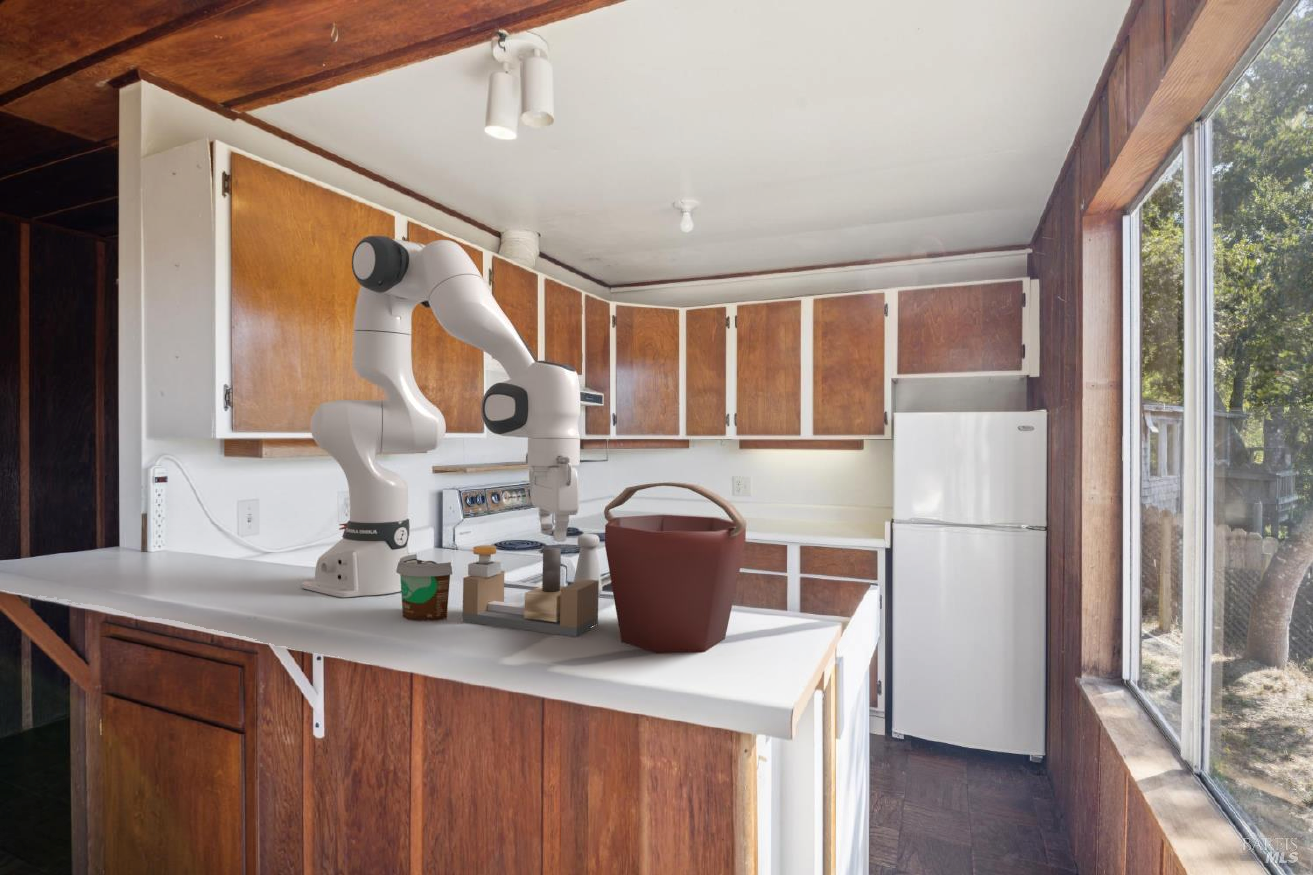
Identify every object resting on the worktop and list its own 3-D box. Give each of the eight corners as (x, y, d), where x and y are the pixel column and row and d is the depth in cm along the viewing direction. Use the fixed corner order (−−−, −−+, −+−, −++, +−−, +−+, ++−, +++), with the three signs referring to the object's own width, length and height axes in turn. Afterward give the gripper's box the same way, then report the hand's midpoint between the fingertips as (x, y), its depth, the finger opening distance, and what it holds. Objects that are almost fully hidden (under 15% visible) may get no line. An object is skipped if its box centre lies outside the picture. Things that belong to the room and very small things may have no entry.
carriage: (524, 617, 109) (525, 550, 109) (545, 608, 115) (546, 544, 115) (556, 622, 106) (557, 553, 106) (576, 611, 113) (577, 547, 113)
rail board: (460, 620, 112) (461, 565, 112) (487, 609, 120) (488, 558, 120) (576, 636, 105) (577, 577, 105) (597, 624, 112) (598, 568, 112)
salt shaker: (597, 604, 125) (598, 537, 125) (568, 602, 126) (569, 535, 126) (605, 597, 131) (606, 533, 131) (578, 595, 132) (579, 531, 132)
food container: (382, 613, 116) (383, 557, 116) (413, 607, 121) (414, 553, 121) (418, 627, 108) (420, 567, 108) (451, 620, 113) (452, 562, 113)
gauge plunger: (468, 565, 114) (468, 548, 114) (481, 561, 118) (482, 544, 118) (487, 567, 113) (487, 549, 113) (500, 563, 117) (501, 546, 117)
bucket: (572, 633, 106) (574, 481, 106) (662, 609, 123) (664, 476, 123) (686, 672, 90) (690, 491, 90) (773, 638, 106) (776, 484, 106)
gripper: (589, 456, 102) (588, 544, 102) (557, 455, 121) (556, 529, 121) (549, 456, 100) (548, 546, 100) (523, 455, 119) (522, 531, 119)
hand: (552, 537), depth 110 cm, fingers open, 8 cm apart
